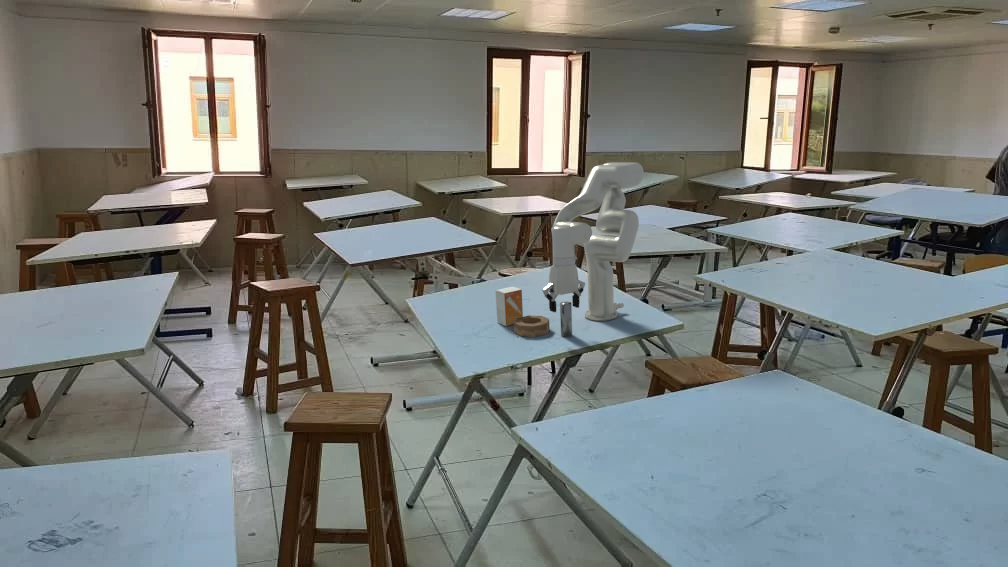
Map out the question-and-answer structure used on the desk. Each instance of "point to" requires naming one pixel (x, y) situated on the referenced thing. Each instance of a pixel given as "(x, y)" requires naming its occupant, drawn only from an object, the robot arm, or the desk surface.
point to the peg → (566, 319)
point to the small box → (508, 305)
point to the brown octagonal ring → (531, 326)
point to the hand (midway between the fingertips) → (564, 309)
